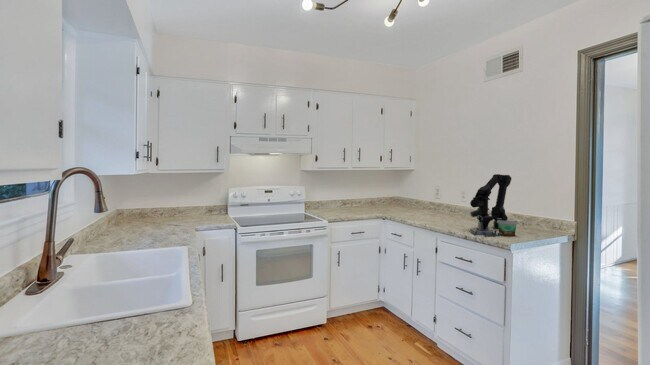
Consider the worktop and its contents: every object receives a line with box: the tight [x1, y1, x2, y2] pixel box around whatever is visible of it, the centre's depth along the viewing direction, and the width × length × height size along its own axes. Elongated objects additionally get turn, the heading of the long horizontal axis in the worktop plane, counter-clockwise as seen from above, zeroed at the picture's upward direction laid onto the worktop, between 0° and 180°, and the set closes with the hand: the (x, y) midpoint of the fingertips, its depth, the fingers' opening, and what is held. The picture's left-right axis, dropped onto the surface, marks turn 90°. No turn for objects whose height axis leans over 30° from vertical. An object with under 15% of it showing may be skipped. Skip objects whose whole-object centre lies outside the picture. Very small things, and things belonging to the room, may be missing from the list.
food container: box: [497, 219, 519, 237], centre depth 204 cm, size 12×6×10 cm, turn 80°
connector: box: [477, 221, 489, 231], centre depth 220 cm, size 5×5×6 cm
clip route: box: [481, 229, 501, 238], centre depth 206 cm, size 11×11×2 cm
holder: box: [470, 228, 494, 236], centre depth 210 cm, size 11×10×2 cm
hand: (483, 228), depth 220 cm, fingers closed on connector, 5 cm apart
